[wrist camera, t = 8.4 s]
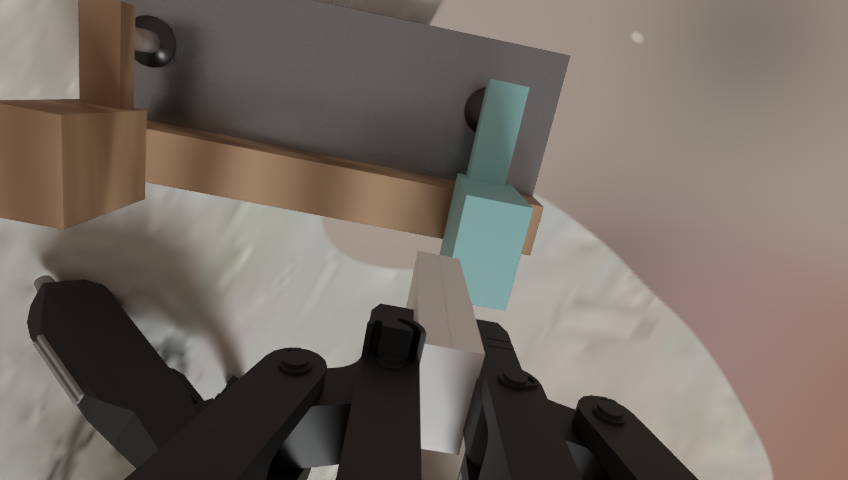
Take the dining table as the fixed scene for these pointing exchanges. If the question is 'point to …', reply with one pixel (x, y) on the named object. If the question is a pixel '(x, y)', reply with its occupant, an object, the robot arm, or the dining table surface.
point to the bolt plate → (339, 82)
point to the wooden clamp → (181, 153)
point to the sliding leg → (490, 202)
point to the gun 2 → (111, 367)
